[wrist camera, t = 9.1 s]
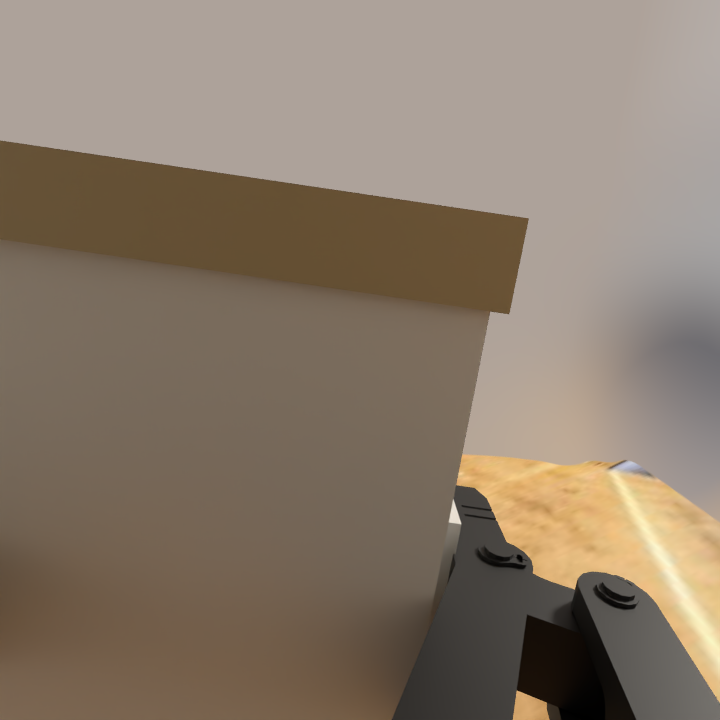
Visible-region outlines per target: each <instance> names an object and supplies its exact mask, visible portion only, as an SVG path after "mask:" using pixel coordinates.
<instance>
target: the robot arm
mask: <svg viewBox="0 0 720 720" xmlns="http://www.w3.org/2000/svg"><path fill="white" fill-rule="evenodd" d="M624 579H625V578H622V577H620V576H617V575H610V574H607V573H601V572H588V573H583V574H582V575H581V576H580V577H579V578H578V580H577V584H576V588H575V590H574V589H571V588H568V587H565V586H562V585H559V584H556V583H553V582H550V581H548V580H545V579H543V578H540V577H538V576H536V575H535V574H533V566H532V561H531V560H530V558H529V557H528V556H527V555H526V554H525V553H524V552H523V551H521V550H520V549H518V548H517V547H515V546H514V545H511V544H509V543H507V542H506V540H505V538H504V536H503V533H502V531H501V529H500V527H499V525H498V522H497V521H496V518H495V516H494V514H493V512H492V509H491V507H490V505H489V503H488V500H487V498H485V497H484V496H483V495H482V494H481V493H480V492H478V491H477V490H476V489H475V488H470V487H464V486H457V485H456V488H455V493H454V498H453V503H452V508H451V513H450V518H449V523H448V529H447V534H446V539H445V544H444V549H443V554H442V559H441V564H440V569H439V574H438V579H437V585H436V590H435V595H434V600H433V605H432V610H431V615H430V620H429V625H428V630H427V635H426V638H425V640H424V642H423V645H422V647H421V650H420V652H419V655H418V657H417V659H416V662H415V664H414V667H413V669H412V672H411V674H410V676H409V679H408V681H407V684H406V686H405V689H404V691H403V693H402V696H401V698H400V701H399V703H398V706H397V708H396V710H395V713H394V715H393V718H392V720H513V713H514V705H515V698H516V691H517V690H518V691H520V692H523V693H525V694H527V695H530V696H532V697H535V698H537V699H540V700H542V701H545V702H547V711H548V715H549V719H550V720H720V703H719V701H718V700H717V698H716V697H715V695H714V694H713V692H712V690H711V689H710V687H709V686H708V684H707V683H706V681H705V679H704V678H703V676H702V675H701V673H700V672H699V670H698V668H697V667H696V665H695V664H694V662H693V661H692V659H691V658H690V656H689V654H688V653H687V651H686V650H685V648H684V647H683V645H682V643H681V642H680V640H679V639H678V637H677V636H676V634H675V632H674V631H673V629H672V628H671V626H670V625H669V623H668V621H667V620H666V618H665V617H664V615H663V614H662V612H661V610H660V609H659V607H658V606H657V604H656V603H655V602H654V600H653V599H652V598H651V597H650V596H649V595H648V594H647V593H646V592H645V591H643V590H642V589H640V588H639V587H637V586H636V585H635V584H634V583H632V582H630V581H629V580H627V579H626V580H624Z"/></svg>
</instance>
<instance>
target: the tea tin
mask: <svg viewBox="0 0 720 720" xmlns="http://www.w3.org/2000/svg"><path fill="white" fill-rule="evenodd" d="M527 224H528V218H521V217H515V216H508V215H501V214H495V213H488V212H481V211H474V210H468V209H460V208H454V207H447V206H441V205H434V204H427V203H420V202H413V201H407V200H400V199H393V198H386V197H379V196H373V195H365V194H359V193H352V192H346V191H338V190H332V189H324V188H318V187H311V186H305V185H298V184H291V183H284V182H278V181H270V180H264V179H257V178H250V177H244V176H237V175H230V174H223V173H217V172H210V171H203V170H196V169H189V168H182V167H175V166H169V165H162V164H155V163H149V162H142V161H135V160H128V159H122V158H115V157H108V156H100V155H94V154H87V153H81V152H74V151H67V150H60V149H53V148H47V147H40V146H33V145H27V144H19V143H13V142H6V141H0V720H392V718H393V715H394V713H395V710H396V708H397V706H398V703H399V701H400V698H401V696H402V693H403V691H404V689H405V686H406V684H407V681H408V679H409V676H410V674H411V672H412V669H413V667H414V664H415V662H416V659H417V657H418V655H419V652H420V650H421V647H422V645H423V642H424V640H425V638H426V635H427V630H428V625H429V620H430V615H431V610H432V605H433V600H434V595H435V590H436V585H437V579H438V574H439V569H440V564H441V559H442V554H443V549H444V544H445V539H446V534H447V529H448V523H449V518H450V513H451V508H452V503H453V498H454V493H455V488H456V483H457V478H458V473H459V467H460V462H461V457H462V451H463V447H464V442H465V437H466V432H467V427H468V422H469V416H470V411H471V406H472V401H473V396H474V391H475V386H476V381H477V376H478V370H479V365H480V360H481V355H482V350H483V345H484V340H485V335H486V330H487V325H488V320H489V315H490V311H491V312H498V313H504V314H509V312H510V308H511V303H512V298H513V293H514V288H515V283H516V278H517V273H518V268H519V264H520V259H521V254H522V249H523V244H524V239H525V234H526V229H527Z"/></svg>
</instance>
